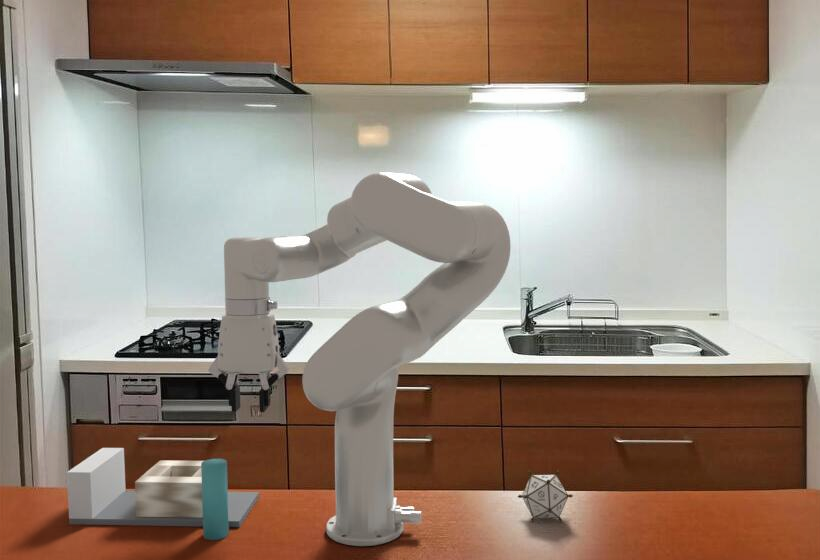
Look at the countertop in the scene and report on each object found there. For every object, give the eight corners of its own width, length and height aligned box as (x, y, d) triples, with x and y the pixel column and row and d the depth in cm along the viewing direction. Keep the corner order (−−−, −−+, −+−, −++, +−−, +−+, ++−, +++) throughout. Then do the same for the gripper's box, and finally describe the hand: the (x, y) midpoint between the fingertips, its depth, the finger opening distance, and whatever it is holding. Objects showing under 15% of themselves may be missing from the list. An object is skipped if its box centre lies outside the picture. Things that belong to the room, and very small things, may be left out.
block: (225, 493, 136) (224, 461, 136) (206, 517, 125) (205, 482, 125) (161, 492, 137) (160, 460, 136) (136, 516, 126) (134, 481, 126)
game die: (549, 535, 129) (575, 484, 132) (560, 538, 121) (588, 483, 123) (503, 508, 130) (530, 457, 133) (511, 509, 122) (540, 455, 124)
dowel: (231, 529, 123) (229, 458, 122) (224, 540, 119) (222, 467, 118) (208, 529, 124) (205, 458, 122) (199, 539, 120) (197, 466, 118)
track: (259, 497, 137) (258, 449, 136) (239, 527, 124) (238, 474, 123) (104, 495, 139) (102, 447, 138) (69, 524, 126) (66, 472, 125)
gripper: (299, 305, 134) (301, 405, 136) (206, 305, 135) (209, 404, 137) (290, 310, 127) (292, 416, 129) (192, 310, 128) (196, 415, 129)
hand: (249, 409), depth 133 cm, fingers open, 4 cm apart
